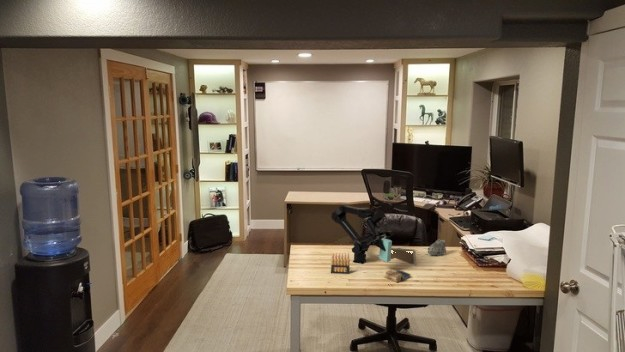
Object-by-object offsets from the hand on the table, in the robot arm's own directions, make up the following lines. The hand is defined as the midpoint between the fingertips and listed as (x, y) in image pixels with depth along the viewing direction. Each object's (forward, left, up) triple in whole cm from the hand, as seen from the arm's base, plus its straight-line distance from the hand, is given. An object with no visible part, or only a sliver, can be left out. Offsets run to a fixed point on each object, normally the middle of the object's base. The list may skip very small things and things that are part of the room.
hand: (387, 250), depth 246 cm
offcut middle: (+6, -9, -11) cm, 16 cm away
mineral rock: (+21, +44, -14) cm, 51 cm away
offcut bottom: (+7, -10, -12) cm, 17 cm away
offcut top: (+7, -10, -10) cm, 16 cm away
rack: (+8, -6, -13) cm, 17 cm away
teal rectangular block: (-1, +1, -6) cm, 6 cm away
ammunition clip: (-24, -13, -14) cm, 30 cm away
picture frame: (0, +29, -14) cm, 32 cm away
